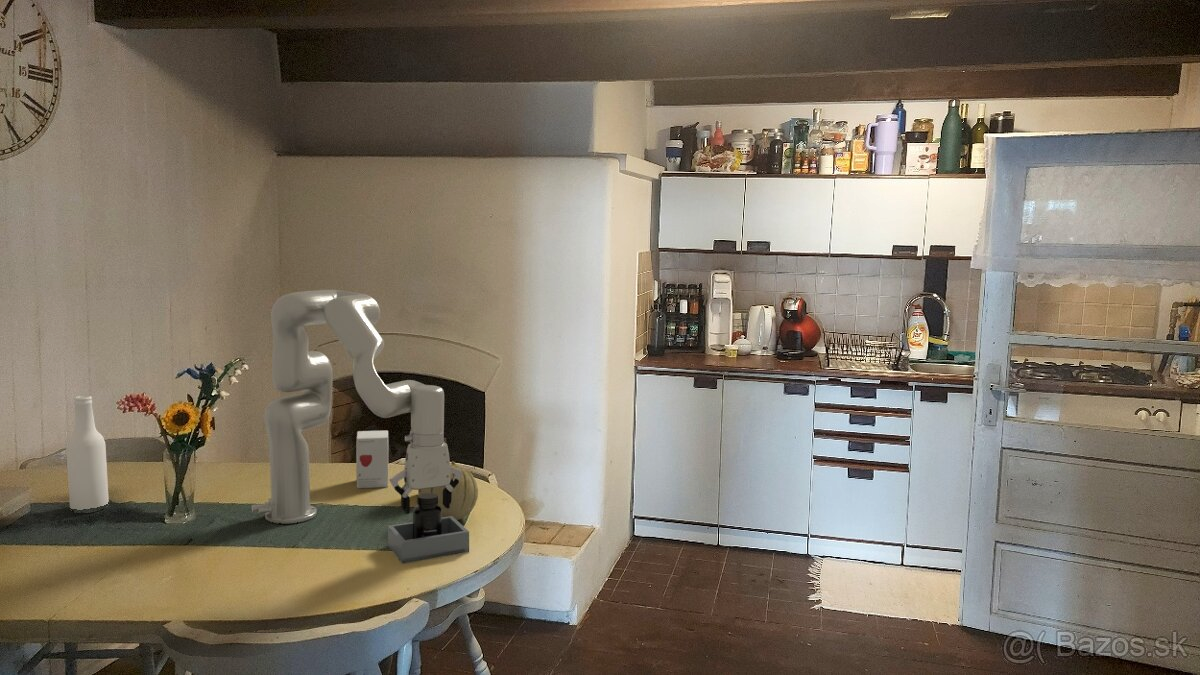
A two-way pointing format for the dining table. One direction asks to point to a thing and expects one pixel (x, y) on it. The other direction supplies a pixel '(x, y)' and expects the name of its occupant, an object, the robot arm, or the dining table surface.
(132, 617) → the dining table surface
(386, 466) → the supplement box
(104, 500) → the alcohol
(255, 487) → the dining table surface
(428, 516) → the supplement bottle
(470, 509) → the cantaloupe
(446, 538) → the tote
